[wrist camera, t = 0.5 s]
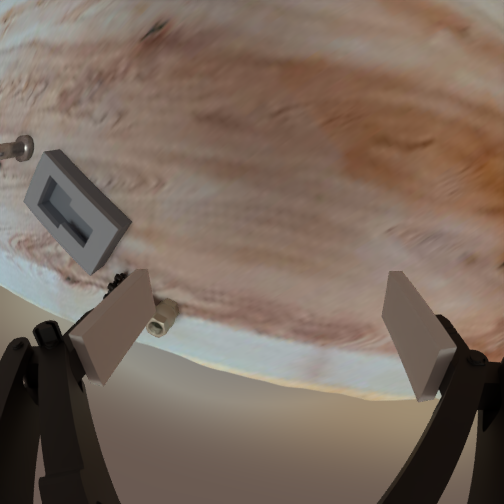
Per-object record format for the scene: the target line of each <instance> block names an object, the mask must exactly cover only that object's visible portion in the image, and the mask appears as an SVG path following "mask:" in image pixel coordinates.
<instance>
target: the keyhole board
mask: <svg viewBox="0 0 504 504" xmlns="http://www.w3.org/2000/svg"><path fill="white" fill-rule="evenodd" d="M23 202H24V203H25V204H26V205H27V207H28V208H29V209H30V210H31V212H32V213H33V214H34V215H35V216H36V218H37V219H38V220H39V221H40V222H41V224H42V225H43V226H44V227H45V228H46V229H47V230H48V232H49V233H50V234H51V235H52V236H53V237H54V238H55V240H56V241H57V242H58V243H59V244H60V245H61V246H62V247H63V248H64V249H65V251H66V252H67V253H68V254H69V255H70V256H71V257H72V258H73V259H74V260H75V261H76V262H77V263H78V264H79V265H80V266H81V267H82V268H83V269H84V270H85V271H86V272H87V273H88V274H89V275H90V276H91V275H92V274H93V273H95V272H96V271H97V270H99V269H100V268H101V267H103V266H104V264H105V263H106V261H107V259H108V258H109V256H110V255H111V253H112V251H113V250H114V248H115V247H116V245H117V244H118V242H119V240H120V239H121V237H122V236H123V234H124V233H125V231H126V230H127V228H128V227H129V225H130V224H131V222H132V221H131V220H130V219H129V218H128V217H126V216H125V215H124V214H123V213H122V212H121V211H120V210H119V209H118V208H117V207H116V206H115V205H114V204H113V203H112V202H111V201H110V200H109V199H108V198H107V197H106V196H105V195H104V194H103V193H102V192H101V191H100V190H99V189H98V188H97V187H96V186H95V185H94V184H93V183H92V182H91V181H90V180H89V179H88V178H87V177H86V176H85V175H84V174H83V173H82V172H81V171H80V170H79V169H78V168H77V167H76V166H75V165H74V164H73V163H72V162H71V161H70V160H69V159H68V157H67V156H66V155H65V154H64V153H63V152H62V151H61V150H52V151H45V152H43V154H42V156H41V159H40V161H39V163H38V166H37V168H36V170H35V173H34V175H33V178H32V180H31V183H30V185H29V188H28V190H27V193H26V196H25V199H24V201H23Z"/></svg>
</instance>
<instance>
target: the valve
mask: <svg viewBox="0 0 504 504" xmlns="http://www.w3.org/2000/svg"><path fill="white" fill-rule="evenodd" d="M126 277H127V275H125V274H123V273H121V274H120V275H119V274H116V276H115V278H114V279H115V280H114V282H113V283H109V285H108V289H109V291H108V293H107V294H105V295H104V297H103V300H104V299H105V298H106V297H107V296H108V295H109V294H110V293H111V292H112V291H113V290H114V289H115V288H116V287H117V286H118V285H120V284H121V283H122V282H123V278H124V279H126ZM117 284H118V285H117ZM155 308H156V313H155V314H154V315H153V317H152V318H151V319H150V321H149V322H148V324H147V325H146V329H147V331H148V333H150V334H151V335H153V336H155V337H158V338H159V337H161V336H163V335H165V334H166V333H167V332H168V330H169V329H170V328H171V327H172V326H173V324H174V322H175V318H176V317H177V316H178V314H179V310H178V305H177V303H176V302H174V301H172V300H170V299H168V298H167V299H165V300H163V301H162V302H160V303H159V304H158V306H155Z"/></svg>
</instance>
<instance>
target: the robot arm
mask: <svg viewBox="0 0 504 504" xmlns="http://www.w3.org/2000/svg"><path fill="white" fill-rule="evenodd" d="M155 313H156V308H155V303H154V299H153V294H152V289H151V284H150V279H149V273H148V269H136V270H135V271H134V272H133V273H131V274H130V275H129V276H128V277H127V278H126V279H125V280H124V281H123V282H122V283H121V284H120V285H118V286H117V287H116V288H115V289H114V290H113V291H112V292H111V293H110V294H109V295H108V296H107V297H106V298H105V299H104V300H103V301H102V302H101V303H100V304H98V305H97V306H96V307H95V308H93V309H92V310H90V311H88V312H86V313H85V314H84V315H83V316H82V317H81V318H80V319H79V320H78V321H77V322H76V324H74V325H73V326H72V327H71V328H70V329H69V330H68V331H67V332H66V333H65V334H64V335H63V336H62V334H61V331H60V328H59V326H58V323H57V322H56V321H52V320H49V321H45V322H42V323H40V324H38V325H37V326H36V327H35V328H34V329H33V334H34V336H35V339H36V341H37V343H38V345H39V346H33V347H32V346H31V345H30V342H29V340H28V339H27V338H25V337H20V338H16V339H14V340H13V341H12V342H11V343H10V344H9V345H8V346H7V348H6V351H5V353H4V354H3V356H2V358H1V360H0V504H33V495H34V480H35V469H36V460H37V452H38V445H39V438H40V435H41V445H42V452H43V460H44V466H45V473H46V475H45V477H40V479H39V490H40V495H41V500H42V504H121V503H120V501H119V499H118V496H117V494H116V491H115V489H114V487H113V484H112V481H111V478H110V476H109V473H108V470H107V467H106V464H105V461H104V458H103V455H102V452H101V449H100V445H99V442H98V439H97V435H96V432H95V428H94V424H93V420H92V417H91V412H90V409H89V404H88V399H87V394H86V389H85V385H84V382H83V381H82V378H83V376H84V375H85V374H86V375H87V377H88V379H89V381H90V383H92V384H96V385H99V386H104V385H105V383H106V382H107V380H108V379H109V377H110V376H111V374H112V373H113V372H114V370H115V369H116V367H117V366H118V364H119V363H120V362H121V360H122V359H123V357H124V356H125V354H126V353H127V351H128V350H129V349H130V347H131V346H132V344H133V343H134V342H135V340H136V339H137V337H138V336H139V335H140V333H141V332H142V330H143V329H144V328H145V326H146V325H147V324H148V322H149V321H150V319H151V318H152V317H153V315H154V314H155ZM382 318H383V320H384V322H385V324H386V327H387V329H388V331H389V333H390V335H391V338H392V340H393V342H394V345H395V347H396V349H397V351H398V354H399V356H400V358H401V361H402V363H403V366H404V368H405V371H406V373H407V375H408V378H409V381H410V383H411V386H412V388H413V391H414V393H415V396H416V399H417V401H418V402H421V401H428V400H433V399H434V398H435V396H436V394H437V392H438V390H439V391H440V393H441V395H442V397H441V399H440V401H439V403H438V405H437V406H436V408H435V410H434V412H433V415H432V417H431V419H430V421H429V423H428V425H427V427H426V429H425V430H424V432H423V434H422V436H421V438H420V439H419V441H418V443H417V445H416V447H415V448H414V450H413V452H412V453H411V455H410V456H409V458H408V460H407V461H406V463H405V465H404V466H403V468H402V469H401V471H400V472H399V474H398V475H397V477H396V478H395V480H394V481H393V482H392V484H391V485H390V487H389V488H388V489H387V491H386V492H385V494H384V495H383V496H382V497H381V499H380V500H379V501H378V503H377V504H437V503H438V501H439V499H440V497H441V495H442V493H443V491H444V490H445V488H446V486H447V484H448V482H449V480H450V477H451V475H452V473H453V471H454V469H455V467H456V464H457V462H458V460H459V457H460V455H461V453H462V450H463V448H464V445H465V443H466V440H467V437H468V435H469V432H470V429H471V426H472V424H473V421H474V417H475V414H476V411H477V410H478V427H477V442H476V453H475V462H474V469H473V476H472V482H471V487H470V493H469V498H468V502H467V504H504V357H503V359H502V361H501V363H500V362H488V359H487V357H486V356H485V355H484V354H483V353H481V352H479V351H477V350H470V349H469V348H468V346H467V345H466V343H465V342H464V340H463V339H462V338H461V336H460V335H459V333H457V331H456V329H455V328H454V326H453V325H452V324H451V322H450V321H449V320H448V319H447V318H445V317H444V316H442V315H441V314H440V315H435V314H434V313H433V311H432V310H431V309H430V307H429V306H428V305H427V303H426V302H425V300H424V299H423V298H422V296H421V295H420V294H419V292H418V291H417V290H416V288H415V287H414V286H413V285H412V283H411V282H410V281H409V279H408V278H407V277H406V276H405V274H404V273H403V272H402V271H389V276H388V283H387V289H386V295H385V300H384V306H383V311H382ZM23 381H24V382H25V384H23Z"/></svg>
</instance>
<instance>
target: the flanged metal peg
mask: <svg viewBox="0 0 504 504" xmlns="http://www.w3.org/2000/svg"><path fill="white" fill-rule="evenodd" d="M33 150H34V143H33V139H32V138H31V136H29V135H23V136H19V137H18V138H17V140H16V142H11V143H3V144H0V160H3V159H8V158H14V157H15V158H16V160H17V161H19V162H22V161H27V160H29V159H30V158H31V156H32V154H33Z"/></svg>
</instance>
